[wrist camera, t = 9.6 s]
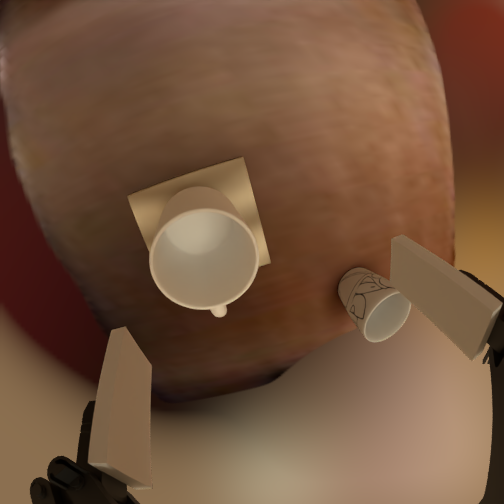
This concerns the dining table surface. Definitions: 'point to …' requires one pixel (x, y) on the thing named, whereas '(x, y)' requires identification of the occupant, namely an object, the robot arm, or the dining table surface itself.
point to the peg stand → (216, 177)
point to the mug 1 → (203, 251)
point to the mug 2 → (373, 304)
